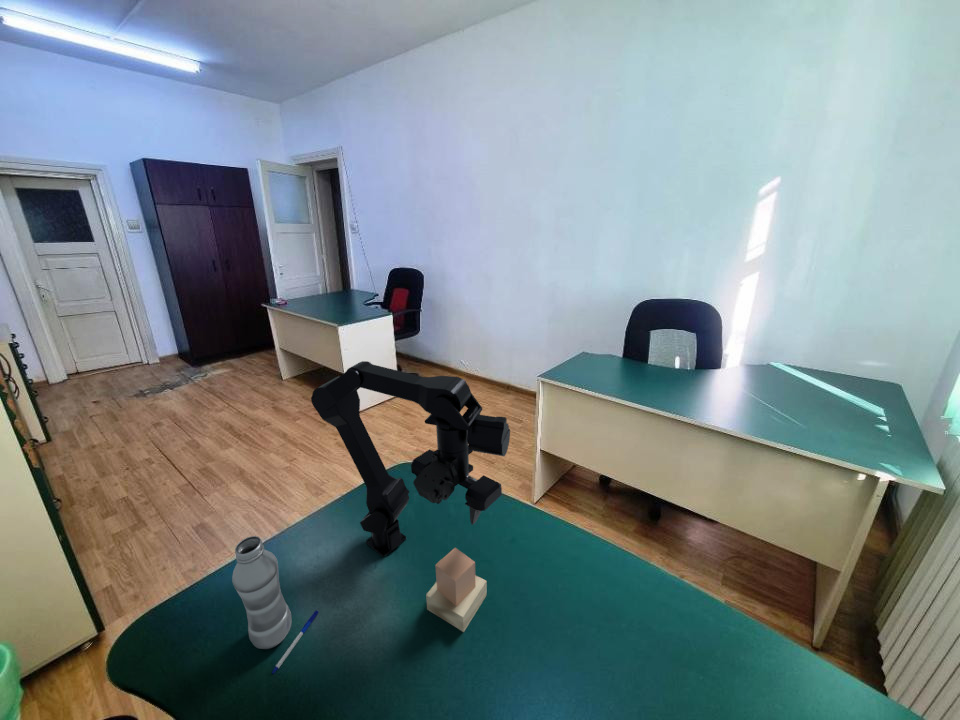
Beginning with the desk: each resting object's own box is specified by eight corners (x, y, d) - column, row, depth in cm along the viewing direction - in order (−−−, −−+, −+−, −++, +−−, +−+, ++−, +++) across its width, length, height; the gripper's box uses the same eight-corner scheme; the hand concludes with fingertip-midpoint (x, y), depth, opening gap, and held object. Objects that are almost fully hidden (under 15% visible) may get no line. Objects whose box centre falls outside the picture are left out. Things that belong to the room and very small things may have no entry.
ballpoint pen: (315, 611, 68) (314, 607, 68) (319, 612, 68) (318, 609, 68) (271, 674, 59) (270, 670, 59) (276, 675, 59) (275, 671, 58)
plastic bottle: (251, 663, 60) (220, 570, 53) (253, 626, 66) (226, 537, 59) (294, 643, 63) (271, 552, 56) (293, 609, 69) (271, 523, 62)
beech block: (427, 610, 68) (426, 595, 67) (452, 577, 75) (451, 562, 74) (463, 633, 65) (463, 617, 63) (486, 596, 71) (486, 580, 70)
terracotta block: (437, 589, 68) (435, 564, 66) (456, 571, 72) (455, 547, 70) (456, 606, 65) (455, 581, 63) (475, 586, 69) (475, 562, 67)
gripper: (385, 447, 68) (393, 515, 74) (462, 487, 57) (464, 564, 63) (429, 423, 77) (433, 486, 82) (503, 454, 66) (503, 525, 71)
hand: (455, 512), depth 74 cm, fingers open, 9 cm apart
